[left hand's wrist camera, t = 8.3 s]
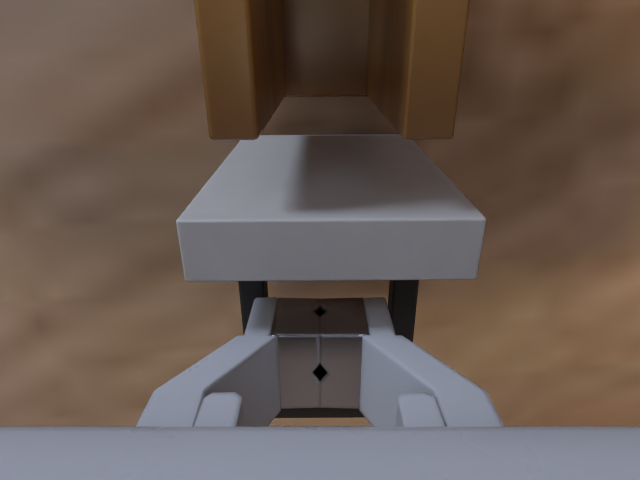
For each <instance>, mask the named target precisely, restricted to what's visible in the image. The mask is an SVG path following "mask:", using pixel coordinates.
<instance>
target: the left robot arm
mask: <svg viewBox="0 0 640 480" xmlns="http://www.w3.org/2000/svg"><path fill="white" fill-rule="evenodd" d="M285 408H355V409H359V410H360V412H361V413H362V414H363V415H364V417H365V418H366V419H367V420H368V421H369V423H370V424H371V425H372V426H373V427H268V425H269V424H270V423H271V422H272V421H273V419H274V418H275V417H276V416H277V415H278V413H279V412H280V411H281V409H285ZM0 480H640V427H505V426H504V425H503V423H502V421H501V419H500V417H499V415H498V413H497V411H496V409H495V407H494V405H493V403H492V401H491V399H490V397H489V395H488V393H487V391H485V390H484V389H482V388H481V387H479V386H478V385H476V384H475V383H473V382H472V381H470V380H469V379H467V378H466V377H464V376H463V375H461V374H460V373H458V372H457V371H455V370H454V369H452V368H451V367H449V366H448V365H446V364H444V363H443V362H441V361H440V360H438V359H437V358H435V357H434V356H432V355H431V354H429V353H428V352H426V351H425V350H423V349H422V348H420V347H419V346H417V345H416V344H414V343H413V342H411V341H410V340H408V339H407V338H405V337H404V336H402V335H396V334H395V330H394V327H393V323H392V320H391V317H390V313H389V310H388V306H387V303H386V299H385V298H384V297H376V298H328V299H320V298H278V299H277V297H266V298H255V300H254V302H253V306H252V309H251V313H250V316H249V320H248V323H247V327H246V330H245V334H244V335H238V336H236V337H235V338H233V339H232V340H230V341H229V342H227V343H226V344H224V345H223V346H221V347H220V348H218V349H217V350H215V351H214V352H212V353H211V354H209V355H207V356H206V357H204V358H203V359H201V360H200V361H198V362H197V363H195V364H194V365H192V366H191V367H189V368H188V369H186V370H185V371H183V372H182V373H180V374H179V375H177V376H176V377H174V378H173V379H171V380H169V381H168V382H166V383H165V384H163V385H162V386H160V387H159V388H157V389H156V390H154V392H153V394H152V396H151V398H150V399H149V401H148V403H147V405H146V407H145V409H144V411H143V413H142V415H141V417H140V419H139V421H138V423H137V425H136V426H135V427H41V426H40V427H0Z"/></svg>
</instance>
